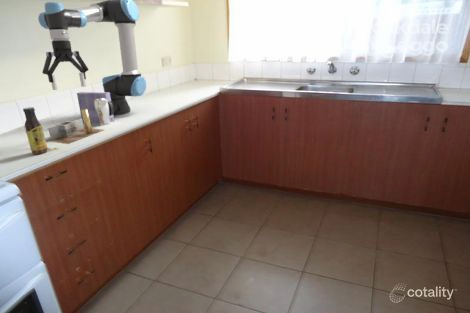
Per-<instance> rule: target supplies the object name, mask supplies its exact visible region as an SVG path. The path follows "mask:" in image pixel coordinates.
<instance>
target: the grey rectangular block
mask: <svg viewBox="0 0 470 313" xmlns="http://www.w3.org/2000/svg"><path fill="white" fill-rule="evenodd" d="M47 130H48V133H49V136H50V139H51V140H55V139H58V138H61V137H63V133H68V132H71V131H74V130H77V126H75V127H72V128H69V129H66V130H64V129H61V125H59V126H56V125H55V126H53V127H50V128H48V129H47Z"/></svg>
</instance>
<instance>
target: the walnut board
mask: <svg viewBox="0 0 470 313" xmlns="http://www.w3.org/2000/svg"><path fill="white" fill-rule="evenodd" d="M92 131H93V133H92V134H87V133H86V128H85V127H84V129H83V130H80V131H78V133H79V134H76V135H73V136H71V137H68V138H67V137H61V138H58V139H55V140H51V138H48V139H45V140H46V142H50V143H51V142H52V143H59V144H66V145H69V144H72V143H74V142H77V141H79V140H80V141H81V140H82V139H85V138H87V137H88V138H89V137H91V136H93V135H96V134H98V133H100V132H103V131H105V129H102V128H100V129H99V128H93V127H92Z"/></svg>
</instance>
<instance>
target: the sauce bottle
mask: <svg viewBox="0 0 470 313" xmlns="http://www.w3.org/2000/svg"><path fill="white" fill-rule="evenodd" d="M22 111H23V113H24V116H25V122H24V128H25V133H26V136H27V139H28V144H29V148H30V150H31V154H33V155H41V154H45V153H47V152H48V150H49V149H48V144H47V141H46V140H47V139H46V138H45V134H44V130H43V125H42V124H41V122H40V121H39V120H38V118H37V115H36V112H35V111H36V110H35V108H34V107H32V106H30V107H29V106H28V107H24V108H22Z"/></svg>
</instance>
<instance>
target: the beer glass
mask: <svg viewBox="0 0 470 313" xmlns="http://www.w3.org/2000/svg"><path fill="white" fill-rule="evenodd" d="M94 105H95V110H96V113H97V115H98V118H99V121H100V122H99V125H100V126H109V125H111V124H112V122H110V118H109V105H108V101H107V98H98V99H94Z"/></svg>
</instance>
